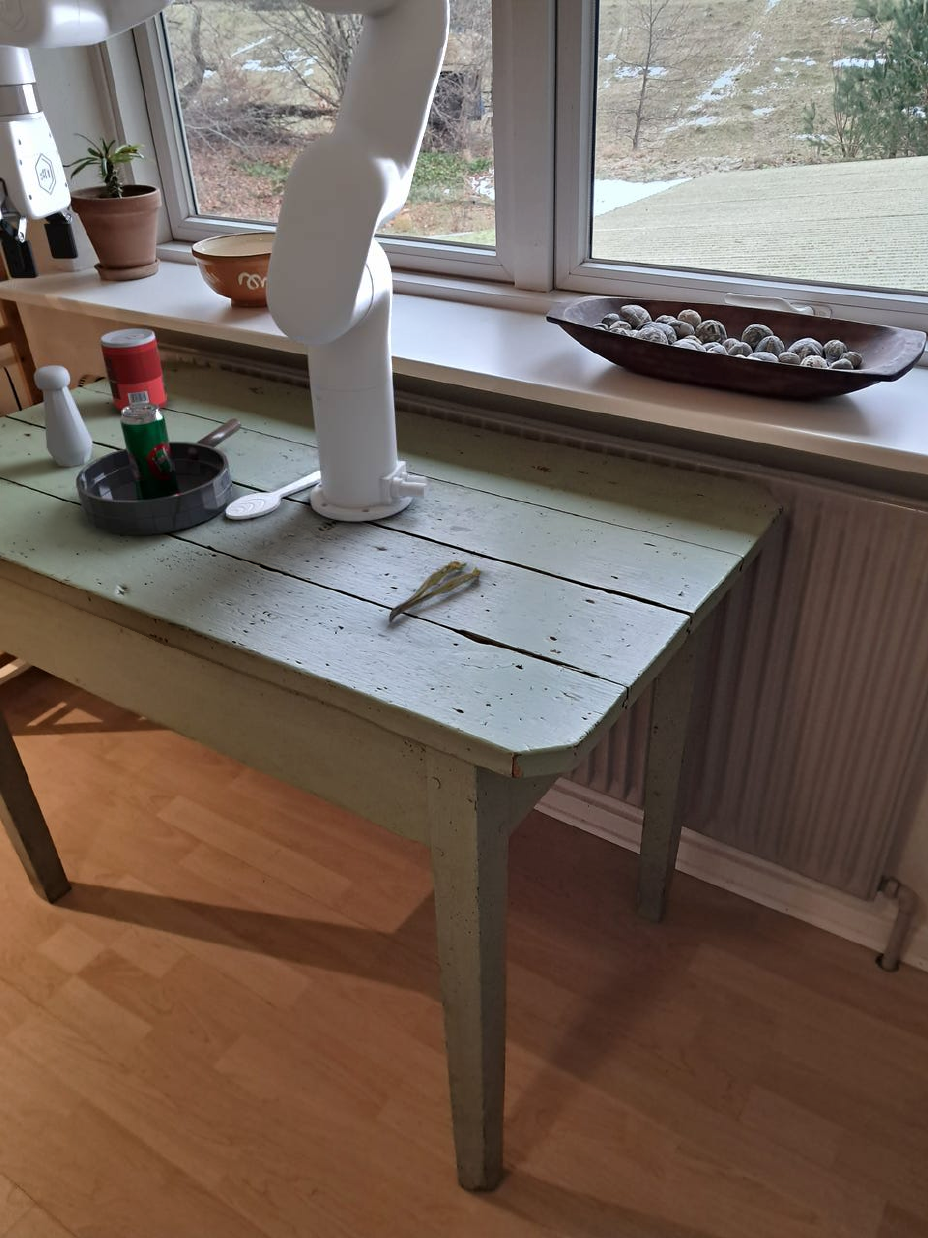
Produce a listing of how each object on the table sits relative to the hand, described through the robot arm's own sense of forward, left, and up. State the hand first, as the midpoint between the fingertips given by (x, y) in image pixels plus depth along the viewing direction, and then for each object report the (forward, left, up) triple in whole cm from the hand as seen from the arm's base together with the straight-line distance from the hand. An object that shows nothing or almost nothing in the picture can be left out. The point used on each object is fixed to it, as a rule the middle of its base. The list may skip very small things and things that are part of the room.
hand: (46, 267), depth 114 cm
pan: (-13, +5, -27) cm, 30 cm away
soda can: (-13, +5, -27) cm, 30 cm away
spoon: (-27, -2, -27) cm, 38 cm away
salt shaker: (+6, -3, -27) cm, 28 cm away
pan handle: (-13, -9, -24) cm, 29 cm away
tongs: (-54, +16, -27) cm, 63 cm away
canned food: (+10, -24, -27) cm, 37 cm away
